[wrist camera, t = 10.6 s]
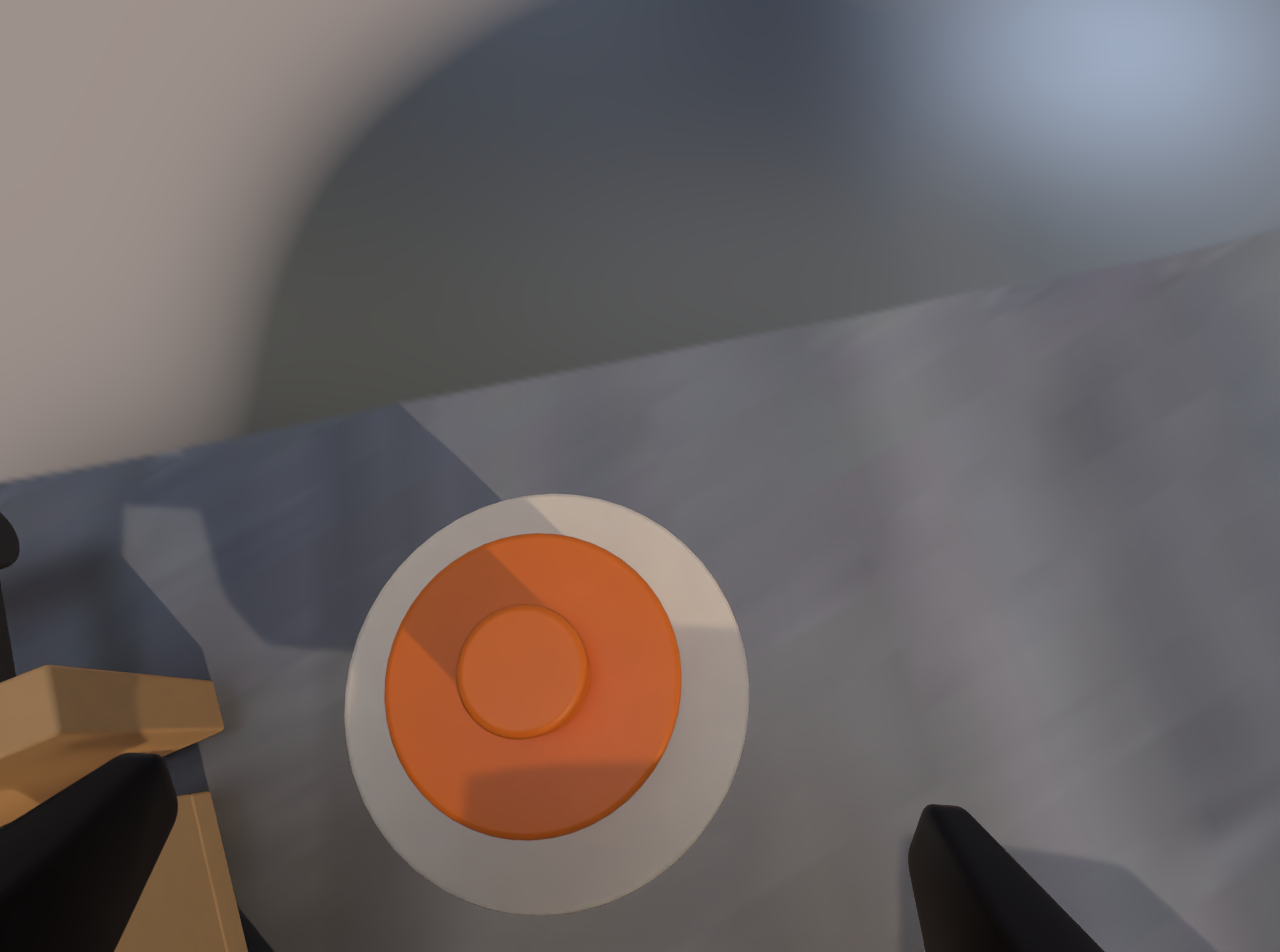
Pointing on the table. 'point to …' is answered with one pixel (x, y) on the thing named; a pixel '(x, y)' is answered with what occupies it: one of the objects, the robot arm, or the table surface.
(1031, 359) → the table surface
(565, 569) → the glue bottle
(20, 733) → the drawer
